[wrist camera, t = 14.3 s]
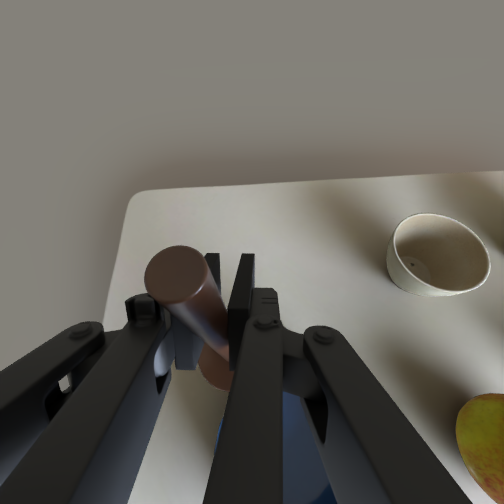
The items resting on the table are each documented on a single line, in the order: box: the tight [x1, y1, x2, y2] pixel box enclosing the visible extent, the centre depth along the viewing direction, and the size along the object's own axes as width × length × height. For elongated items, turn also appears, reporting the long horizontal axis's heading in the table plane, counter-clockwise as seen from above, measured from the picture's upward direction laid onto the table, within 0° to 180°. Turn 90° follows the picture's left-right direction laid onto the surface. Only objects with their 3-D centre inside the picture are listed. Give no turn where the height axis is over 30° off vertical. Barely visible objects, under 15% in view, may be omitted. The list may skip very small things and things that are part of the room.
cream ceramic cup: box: [387, 213, 491, 297], centre depth 32 cm, size 10×10×7 cm
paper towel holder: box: [144, 246, 234, 392], centre depth 12 cm, size 5×5×15 cm
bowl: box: [214, 391, 337, 504], centre depth 24 cm, size 13×13×5 cm
